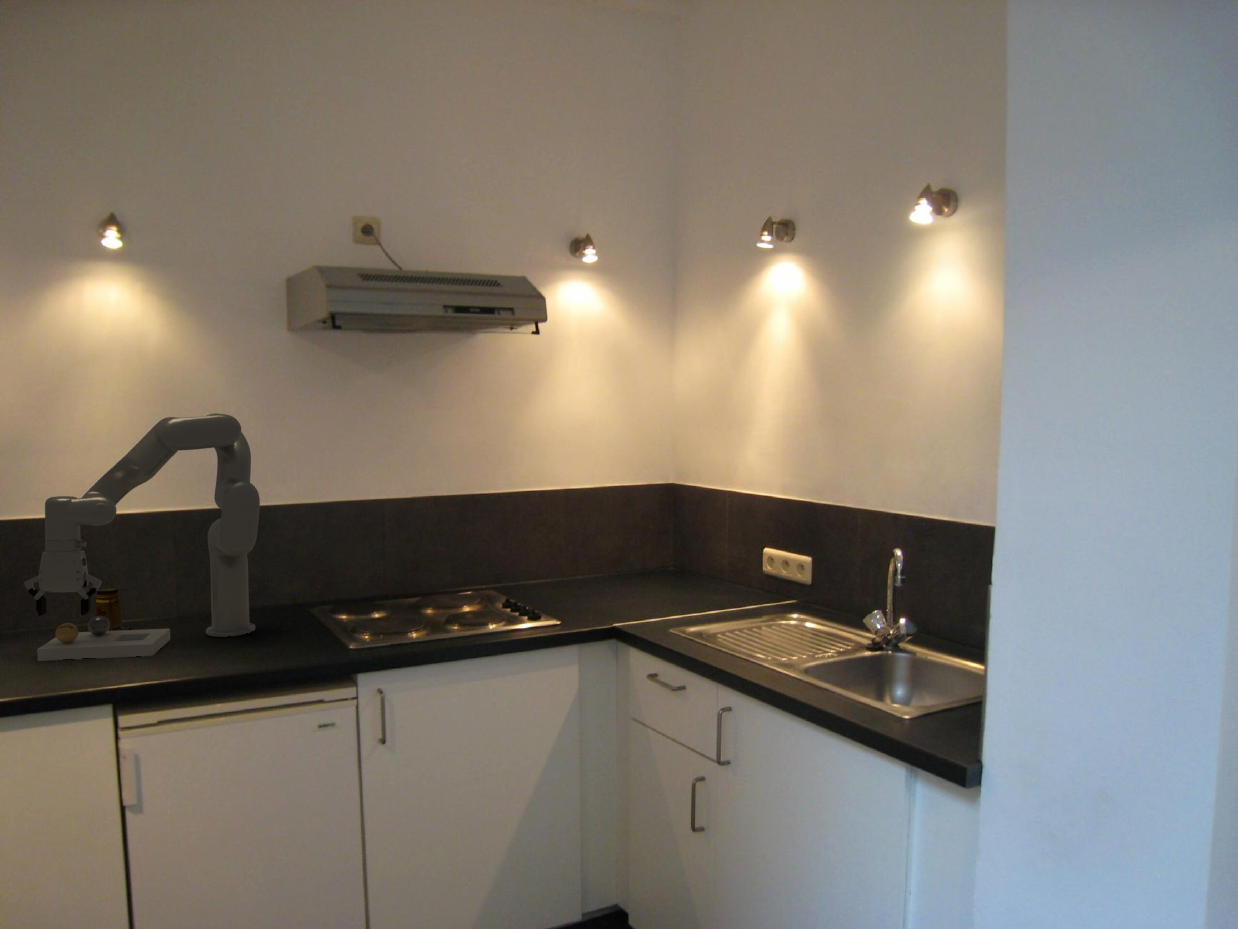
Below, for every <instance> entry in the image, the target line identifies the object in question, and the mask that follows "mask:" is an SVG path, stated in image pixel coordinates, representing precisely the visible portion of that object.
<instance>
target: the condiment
mask: <svg viewBox="0 0 1238 929" xmlns="http://www.w3.org/2000/svg"><path fill="white" fill-rule="evenodd" d="M119 591H120V590H119V589H118V588H116V587H105V588H100V589H99V588H98V591H97V592H96V601H95V616H104V617H106V618H107V619H108V620H109V622H110V627H109V630H108V631H121V628H123V627H122V625H123V624H122V600H121V598H120V593H119Z"/></svg>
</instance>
